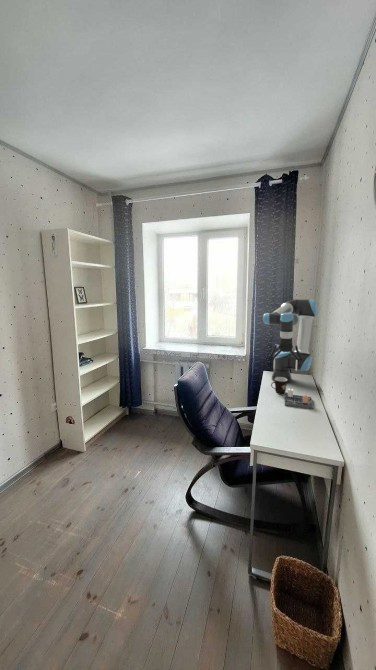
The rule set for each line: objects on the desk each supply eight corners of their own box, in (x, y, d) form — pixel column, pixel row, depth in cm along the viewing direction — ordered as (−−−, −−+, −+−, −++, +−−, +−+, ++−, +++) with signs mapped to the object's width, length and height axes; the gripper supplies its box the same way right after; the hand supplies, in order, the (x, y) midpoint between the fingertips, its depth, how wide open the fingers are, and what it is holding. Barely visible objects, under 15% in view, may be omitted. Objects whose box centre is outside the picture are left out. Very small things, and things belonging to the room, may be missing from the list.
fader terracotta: (302, 400, 173) (303, 393, 172) (307, 401, 172) (308, 394, 171) (302, 402, 170) (303, 395, 169) (307, 403, 169) (308, 396, 168)
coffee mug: (285, 390, 196) (285, 377, 194) (288, 395, 188) (288, 381, 186) (268, 390, 197) (269, 377, 195) (271, 394, 189) (271, 381, 187)
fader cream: (287, 394, 182) (288, 387, 181) (292, 395, 181) (292, 388, 180) (287, 396, 179) (288, 389, 178) (292, 397, 178) (292, 390, 177)
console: (285, 396, 185) (285, 392, 184) (311, 399, 179) (311, 395, 179) (284, 405, 172) (284, 401, 172) (312, 409, 167) (312, 404, 166)
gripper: (265, 338, 172) (264, 369, 177) (308, 339, 164) (306, 372, 169) (266, 335, 179) (265, 366, 184) (307, 336, 171) (305, 368, 175)
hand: (285, 369), depth 176 cm, fingers open, 13 cm apart
